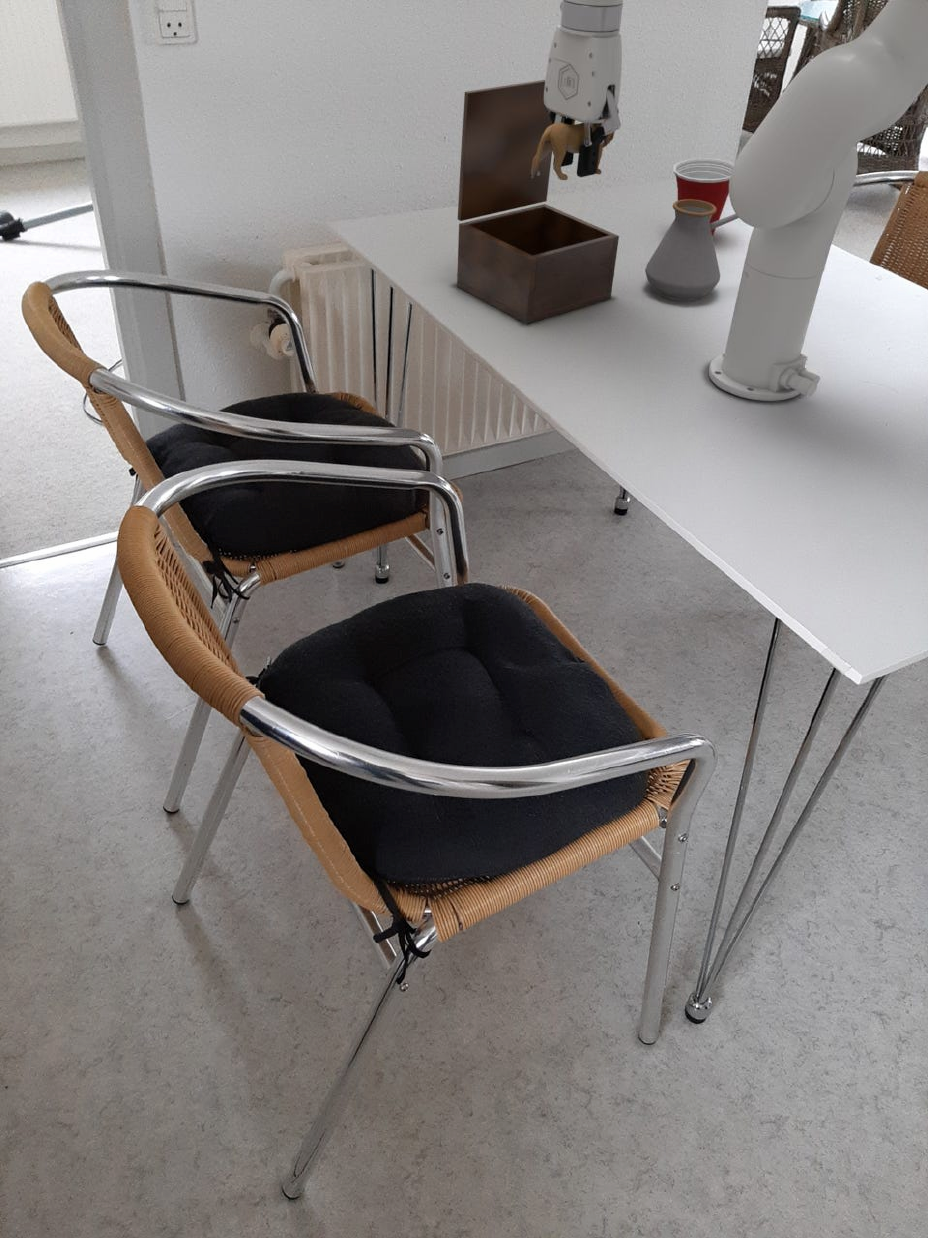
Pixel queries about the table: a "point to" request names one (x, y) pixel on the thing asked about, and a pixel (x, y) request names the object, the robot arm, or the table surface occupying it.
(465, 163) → the lid
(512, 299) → the chest
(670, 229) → the coffee pot
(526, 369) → the table surface
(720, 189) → the plastic cup
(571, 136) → the lion figurine
